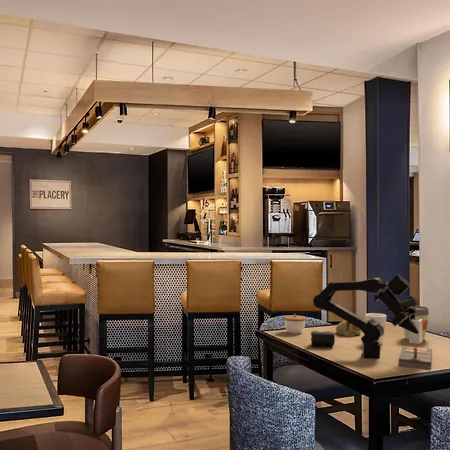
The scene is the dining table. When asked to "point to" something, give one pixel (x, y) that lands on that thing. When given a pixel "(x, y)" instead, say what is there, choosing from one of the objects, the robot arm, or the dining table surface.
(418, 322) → the grey upright block
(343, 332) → the pastry
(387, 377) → the dining table surface
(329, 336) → the end cap
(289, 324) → the lidded jar
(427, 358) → the post board
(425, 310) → the reusable coffee cup
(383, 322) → the foam cup
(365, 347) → the robot arm
